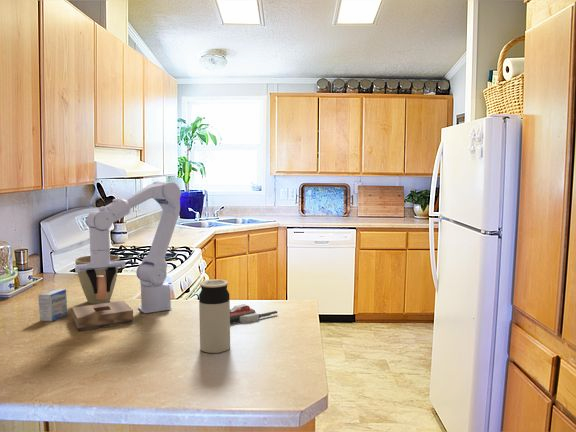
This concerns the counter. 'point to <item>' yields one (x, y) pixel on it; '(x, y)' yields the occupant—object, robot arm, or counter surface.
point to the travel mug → (214, 316)
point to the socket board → (102, 315)
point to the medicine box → (52, 305)
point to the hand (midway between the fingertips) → (101, 292)
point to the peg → (101, 287)
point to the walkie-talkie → (245, 314)
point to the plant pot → (87, 283)
